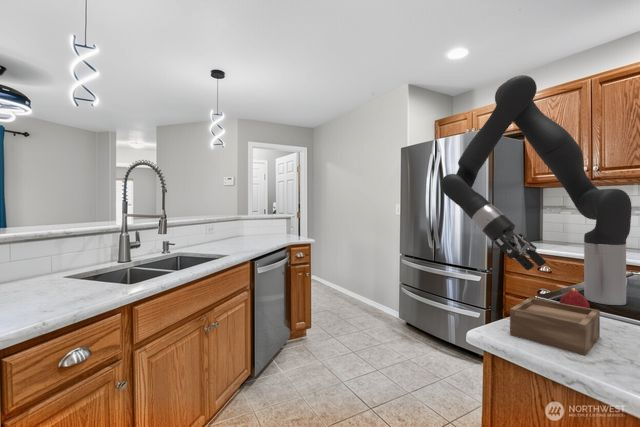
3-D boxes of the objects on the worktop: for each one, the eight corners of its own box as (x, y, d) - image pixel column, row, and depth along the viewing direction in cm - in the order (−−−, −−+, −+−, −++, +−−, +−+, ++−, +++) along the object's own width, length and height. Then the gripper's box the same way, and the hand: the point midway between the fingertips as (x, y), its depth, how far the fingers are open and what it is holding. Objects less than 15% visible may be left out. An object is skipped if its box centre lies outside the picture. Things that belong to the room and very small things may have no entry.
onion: (595, 325, 74) (595, 291, 74) (568, 323, 75) (567, 290, 75) (580, 316, 80) (580, 285, 80) (555, 315, 81) (554, 285, 81)
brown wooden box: (530, 322, 78) (530, 297, 78) (599, 338, 68) (599, 310, 67) (510, 336, 69) (510, 308, 69) (585, 357, 59) (585, 325, 59)
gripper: (490, 214, 86) (539, 260, 77) (512, 213, 95) (558, 255, 86) (471, 232, 90) (515, 278, 81) (494, 230, 99) (536, 271, 90)
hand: (537, 266), depth 84 cm, fingers open, 8 cm apart
